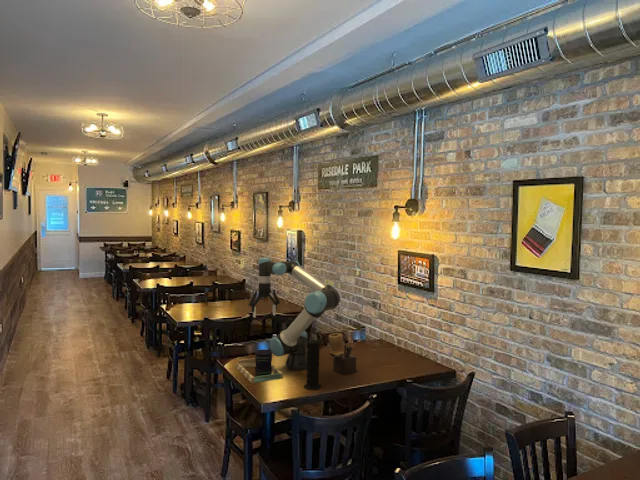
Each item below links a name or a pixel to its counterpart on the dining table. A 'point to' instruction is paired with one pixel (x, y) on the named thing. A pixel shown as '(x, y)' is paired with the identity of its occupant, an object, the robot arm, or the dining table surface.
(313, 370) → the handle grip
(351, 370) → the dark boxy piece
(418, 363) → the dining table surface
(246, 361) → the shallow rimmed tray
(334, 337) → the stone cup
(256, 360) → the storage jar
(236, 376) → the dining table surface
